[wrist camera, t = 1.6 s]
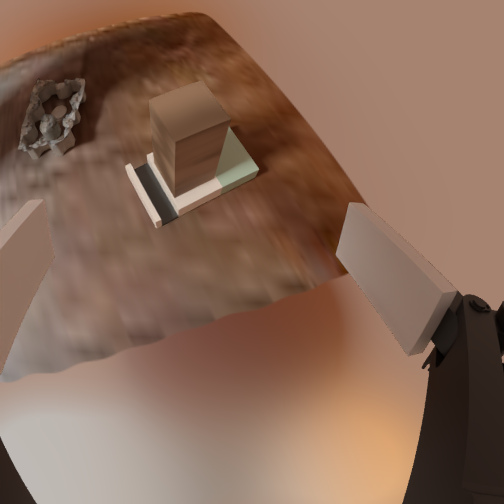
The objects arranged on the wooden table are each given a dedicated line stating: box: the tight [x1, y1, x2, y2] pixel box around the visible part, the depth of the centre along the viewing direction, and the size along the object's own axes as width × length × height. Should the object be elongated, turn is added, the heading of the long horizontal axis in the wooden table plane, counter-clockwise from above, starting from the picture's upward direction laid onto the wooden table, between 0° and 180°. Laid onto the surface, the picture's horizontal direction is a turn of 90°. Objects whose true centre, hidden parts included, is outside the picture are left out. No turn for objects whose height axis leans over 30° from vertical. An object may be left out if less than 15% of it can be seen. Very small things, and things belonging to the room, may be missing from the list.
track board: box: [125, 127, 259, 229], centre depth 32 cm, size 7×12×2 cm, turn 123°
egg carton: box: [18, 78, 86, 159], centre depth 28 cm, size 11×8×4 cm
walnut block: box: [149, 80, 231, 198], centre depth 26 cm, size 4×4×10 cm
